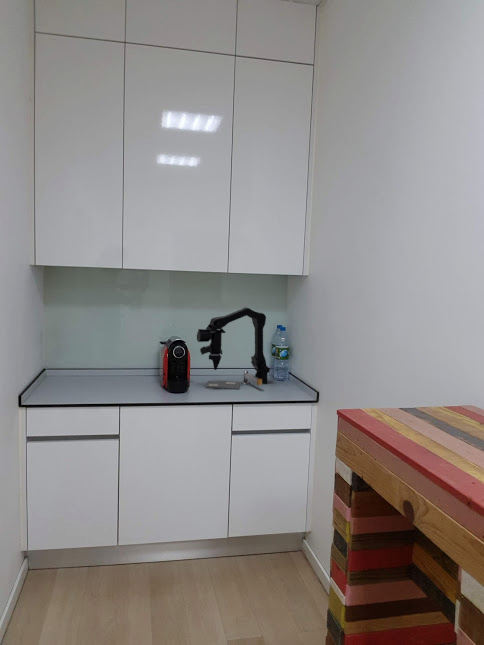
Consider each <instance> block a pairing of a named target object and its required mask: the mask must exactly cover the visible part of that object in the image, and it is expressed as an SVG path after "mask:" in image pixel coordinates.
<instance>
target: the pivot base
mask: <svg viewBox="0 0 484 645" xmlns="http://www.w3.org/2000/svg"><path fill="white" fill-rule="evenodd" d="M250 382H251V381H250ZM250 382H249V381H248V382H246V383H245V382H243V381H242V382H240V385H241V384H242V385H250V384H251V383H250Z"/></svg>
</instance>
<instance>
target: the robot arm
mask: <svg viewBox="0 0 484 645" xmlns="http://www.w3.org/2000/svg"><path fill="white" fill-rule="evenodd" d="M243 317H248V318H251V321H252V325H253V327H254V354H253V356H251V359H250V360H251V362H250V363H251V364H252V367H253V368H254V371H256V373H255V374H254V376H255V377H257V378H260V379H262V384H265V385H267V384H268V374H269V373H270V371H271V369H270V367H269V366H267V362H266V358H265V355H264V327H265V325H266V322H267V320H266V319H267V317H266V314H265V313H263V312H259V311H255V310H252V309H251V308H250V307H246V306H245V307H243V308H241V309H238V310H237V311H234V312H232V313H228V314H226V315H223V316H222V315H221V316H216V317H212V318H211V319H210V321H209V324H208V325H207V326H206V328H205V329H202V328H198V330H197V333H196V341H197V342H198V343H204V342H209V341H210V344H209V345H206V346H205V345H204V346H202V347H201V348H200V349H199V352H200V354H201V356H203V355H205V354H208V353H209V354H208V360H209V361H210V360H211V361H212V365H213V369H214V370H215V371H217V369H218V367H219V364H220V362H221V359H222V357H223V356H222V355H223V349H222V340H223V339H222V334H225V333H226V331H225V330H224V327H226V326H227V325H228V324H229V323H232V322H234V321H237V320H239V319H242V318H243Z"/></svg>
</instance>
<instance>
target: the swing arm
mask: <svg viewBox="0 0 484 645" xmlns="http://www.w3.org/2000/svg"><path fill="white" fill-rule="evenodd" d="M249 381H250V382H252V383H254V384H256V385H257V386H262V385H263V383H262V379H260V378H257V377H255V375H254V374H250V373H249V370H243V380H242V382H245V383H246V382H249Z"/></svg>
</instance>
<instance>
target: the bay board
mask: <svg viewBox="0 0 484 645" xmlns="http://www.w3.org/2000/svg"><path fill="white" fill-rule="evenodd" d="M240 385H241V382H238V381H217V380H207V382H206V384H205V387H204V388H205V389H215V390H216V389H217V390H218V389H220V390H240Z"/></svg>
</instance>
